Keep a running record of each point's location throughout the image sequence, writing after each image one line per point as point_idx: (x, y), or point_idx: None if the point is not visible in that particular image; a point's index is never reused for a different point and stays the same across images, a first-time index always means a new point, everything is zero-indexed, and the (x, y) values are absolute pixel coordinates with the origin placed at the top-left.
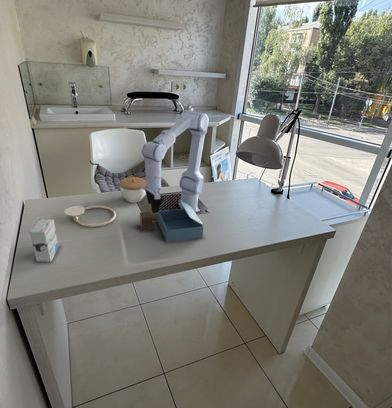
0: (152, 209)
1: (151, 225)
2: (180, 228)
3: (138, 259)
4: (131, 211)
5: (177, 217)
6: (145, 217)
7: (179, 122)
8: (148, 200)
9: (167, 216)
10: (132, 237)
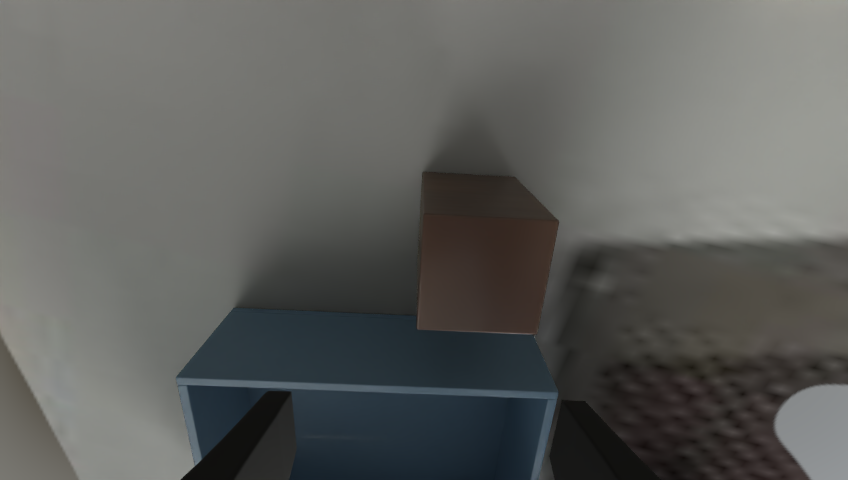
0: (222, 439)
1: (417, 270)
2: (383, 431)
3: (8, 48)
4: (798, 158)
5: (503, 460)
6: (422, 258)
7: None
8: (587, 446)
9: (519, 415)
10: (349, 69)
